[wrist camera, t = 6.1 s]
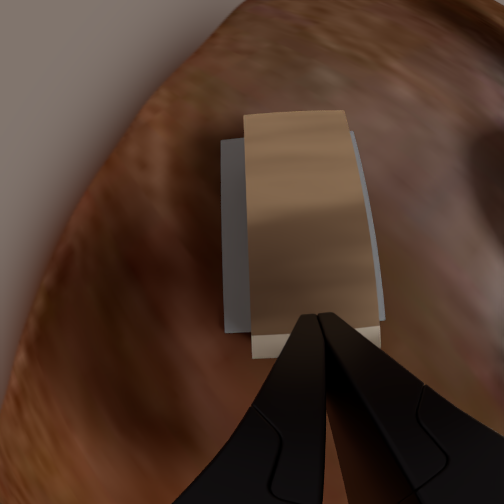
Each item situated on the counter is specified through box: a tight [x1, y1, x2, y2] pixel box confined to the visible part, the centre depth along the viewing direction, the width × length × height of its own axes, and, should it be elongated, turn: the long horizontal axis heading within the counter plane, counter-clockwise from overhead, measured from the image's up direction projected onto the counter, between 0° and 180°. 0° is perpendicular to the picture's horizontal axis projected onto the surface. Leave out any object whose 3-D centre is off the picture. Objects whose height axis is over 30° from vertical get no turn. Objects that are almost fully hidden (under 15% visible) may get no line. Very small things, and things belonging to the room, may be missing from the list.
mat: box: [221, 131, 385, 333], centre depth 16 cm, size 11×8×1 cm
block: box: [244, 110, 381, 359], centre depth 13 cm, size 4×4×10 cm
